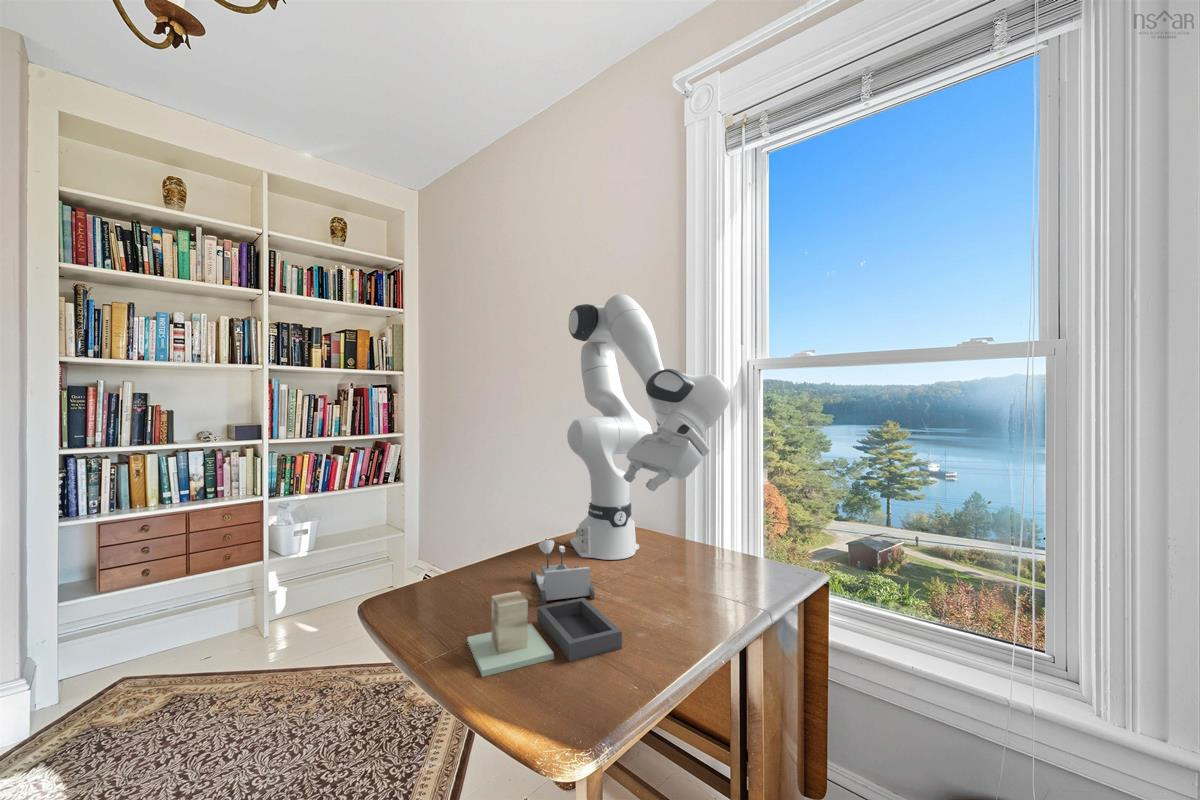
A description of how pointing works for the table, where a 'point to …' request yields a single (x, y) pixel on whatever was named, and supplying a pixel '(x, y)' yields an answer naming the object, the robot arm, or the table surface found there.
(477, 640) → the pad
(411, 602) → the table surface
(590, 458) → the robot arm
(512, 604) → the birch block
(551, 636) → the tray
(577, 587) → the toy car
